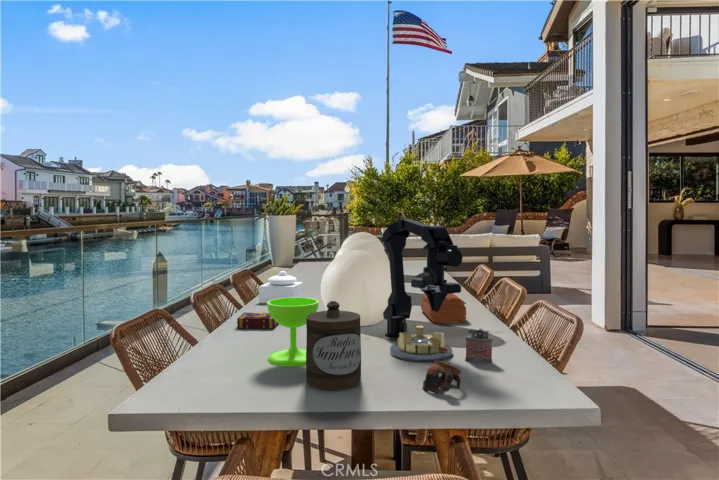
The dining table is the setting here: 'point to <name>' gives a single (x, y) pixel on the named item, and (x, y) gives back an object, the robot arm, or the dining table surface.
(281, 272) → the white lidded box
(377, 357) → the dining table surface
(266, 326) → the decorative book
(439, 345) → the tan segmented ring
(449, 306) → the bread
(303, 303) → the wineglass
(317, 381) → the wooden container
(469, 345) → the lighter
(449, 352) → the grey round tray
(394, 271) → the robot arm
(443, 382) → the brown leather rounded piece
